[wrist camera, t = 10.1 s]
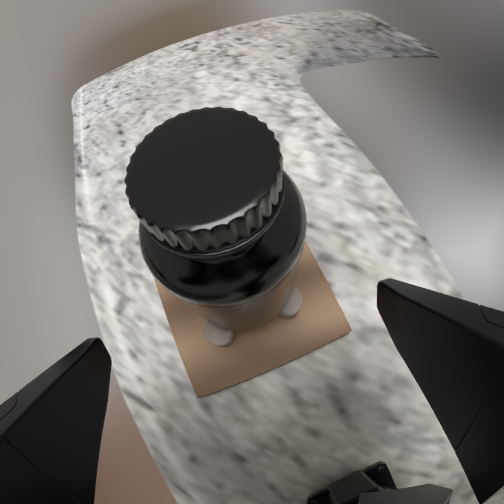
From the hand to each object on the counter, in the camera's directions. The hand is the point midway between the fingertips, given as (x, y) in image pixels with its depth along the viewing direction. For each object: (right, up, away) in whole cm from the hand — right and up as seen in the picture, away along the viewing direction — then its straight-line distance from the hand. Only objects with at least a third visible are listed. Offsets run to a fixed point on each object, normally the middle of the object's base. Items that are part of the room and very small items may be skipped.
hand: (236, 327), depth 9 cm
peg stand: (0, -1, +14) cm, 14 cm away
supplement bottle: (0, 0, +11) cm, 11 cm away
